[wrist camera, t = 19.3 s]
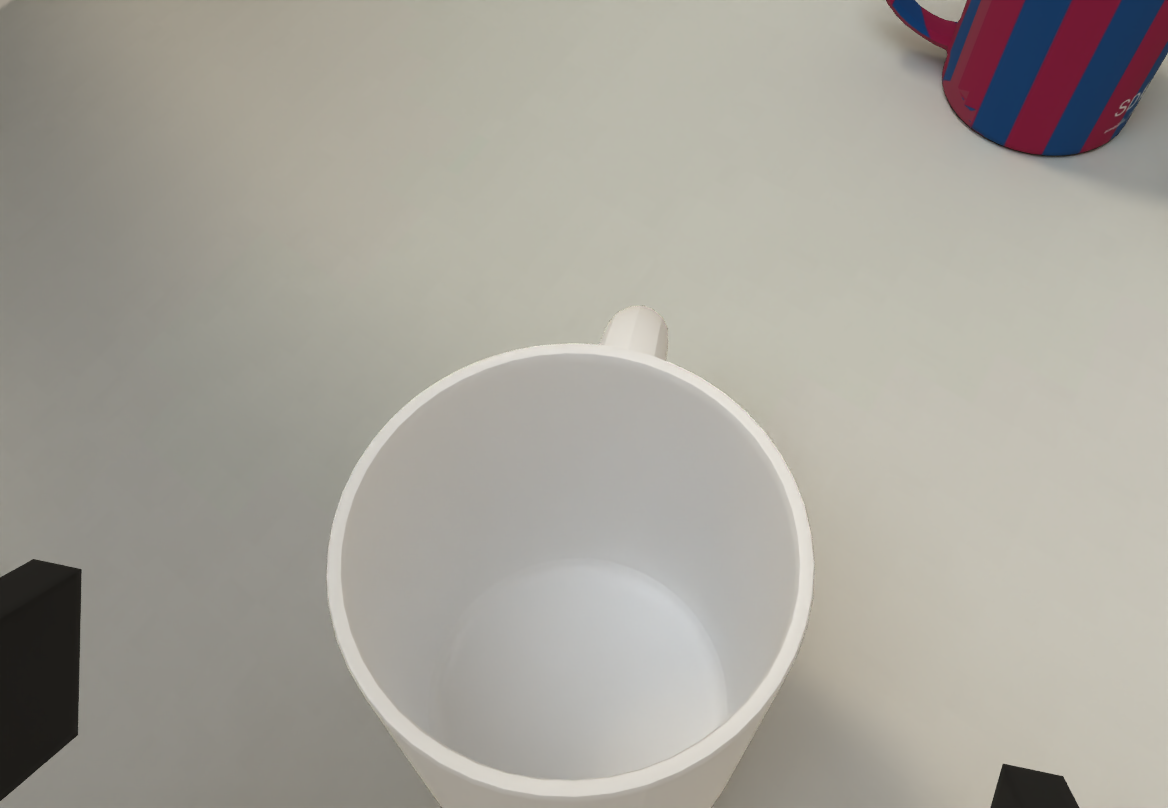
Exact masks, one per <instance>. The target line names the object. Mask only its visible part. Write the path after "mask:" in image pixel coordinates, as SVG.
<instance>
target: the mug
mask: <svg viewBox="0 0 1168 808" xmlns="http://www.w3.org/2000/svg"><path fill="white" fill-rule="evenodd" d="M667 349H668V328H667V326H666V324H665V321H664V319H663V317H661V316H660V315H659V314H658V313H657V312H656V311H655V310H653V309H651V308H648V307H645V306H630V307H628V308H626V309H623V310H621V311H619V312H617V313H616V315H615V316H614V317H613V318H612V319H611V320H610V321H609V323H608V325H607V326H606V328H605V331H604V333H603V335H602V338H601V341H600V343H599V345H598V344H575V343H563V344H550V345H538V346H533V347H527V348H522V349H517V350H511V351H508V352H504V353H501V354H498V355H495V356H491V357H488V358H485V359H482V360H480V361H477V362H475V363H473V364H471V365H468V366H466V367H464V368H461V369H459V370H457V371H455V372H453V373H452V374H450V375H448V376H446V377H445V378H443V379H441V380H439V381H437V382H436V383H434V384H432V385H431V386H430V387H428V388H427V389H425V390H424V391H423V392H421V393H420V394H419V395H417V396H416V397H415V398H413V399H412V400H410V401H409V402H408V403H407V404H406V405H405V406H404V407H403V408H402V409H401V410H400V411H399V412H397V413H396V414H395V415H394V416H393V417H392V418H391V419H390V420H389V421H388V422H387V423H386V425H385V426H384V427H383V428H382V429H381V431H380V432H379V433H378V434H377V435H376V437H375V438H374V439H373V440H372V441H371V442H370V444H369V446H368V447H367V449H366V450H365V452H364V453H363V455H362V456H361V458H360V459H359V461H358V463H357V464H356V466H355V467H354V469H353V472H352V474H351V476H350V478H349V480H348V482H347V484H346V486H345V488H344V490H343V492H342V495H341V498H340V501H339V504H338V507H337V510H336V513H335V516H334V519H333V523H332V528H331V534H330V539H329V545H328V551H327V572H326V585H327V595H328V605H329V613H330V617H331V621H332V625H333V629H334V633H335V637H336V641H337V644H338V646H339V648H340V651H341V653H342V656H343V658H344V661H345V663H346V665H347V668H348V670H349V672H350V674H351V675H352V677H353V679H354V680H355V682H356V684H357V686H358V687H359V689H360V691H361V692H362V694H363V696H364V697H365V699H366V700H367V702H368V703H369V705H370V706H371V708H372V709H373V710H374V712H375V713H376V715H377V716H378V718H379V719H380V720H381V722H382V723H383V725H384V726H385V728H386V729H387V730H388V732H389V733H390V735H391V736H392V738H393V739H394V740H395V742H396V743H397V745H398V746H399V748H400V749H401V750H402V752H403V753H404V755H405V756H406V758H407V759H408V760H409V762H410V763H411V765H412V766H413V768H414V769H415V770H416V772H417V773H418V775H419V776H420V778H421V779H422V780H423V782H424V783H425V785H426V786H427V788H428V789H429V790H430V792H431V793H432V795H433V796H434V798H435V799H436V800H437V801H438V803H439V804H440V805H441V806H442V808H711V807H712V805H713V804H714V803H715V801H716V800H717V799H718V797H719V796H720V794H721V793H722V792H723V790H724V788H725V786H726V785H727V783H728V781H729V779H730V777H731V776H732V774H733V772H734V770H735V768H736V767H737V765H738V763H739V761H740V759H741V758H742V756H743V754H744V752H745V751H746V749H747V747H748V745H749V743H750V742H751V740H752V738H753V736H754V734H755V733H756V731H757V729H758V727H759V725H760V724H761V722H762V720H763V718H764V716H765V715H766V713H767V711H768V709H769V707H770V706H771V704H772V702H773V700H774V698H775V697H776V695H777V693H778V691H779V689H780V688H781V686H782V684H783V682H784V680H785V678H786V676H787V674H788V673H789V671H790V669H791V667H792V665H793V663H794V661H795V659H796V657H797V655H798V652H799V649H800V646H801V643H802V641H803V638H804V635H805V632H806V630H807V626H808V621H809V616H810V611H811V606H812V601H813V593H814V575H815V563H814V551H813V539H812V534H811V529H810V525H809V520H808V516H807V512H806V508H805V505H804V503H803V500H802V497H801V495H800V492H799V489H798V486H797V484H796V481H795V479H794V478H793V476H792V474H791V472H790V470H789V468H788V466H787V465H786V463H785V461H784V459H783V457H782V455H781V454H780V452H779V451H778V450H777V448H776V447H775V445H774V444H773V443H772V441H771V440H770V438H769V437H768V436H767V434H766V433H765V431H764V430H763V429H762V428H761V427H760V426H759V425H758V424H757V423H756V422H755V421H754V419H753V418H752V417H751V416H750V415H749V414H748V413H747V412H746V411H745V410H744V409H743V408H742V407H740V406H739V405H738V404H737V403H736V402H735V401H733V400H732V399H731V398H730V397H729V396H727V395H726V394H725V393H724V392H722V391H721V390H719V389H718V388H716V387H715V386H713V385H712V384H710V383H709V382H707V381H706V380H704V379H703V378H701V377H699V376H697V375H695V374H693V373H691V372H689V371H687V370H686V369H684V368H682V367H680V366H678V365H676V364H673V363H670V362H668V361H666V358H667Z"/></svg>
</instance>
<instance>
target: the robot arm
mask: <svg viewBox="0 0 1168 808" xmlns="http://www.w3.org/2000/svg"><path fill="white" fill-rule="evenodd" d="M80 613H81V569H78V568H73V567H68V566H64V565H59V564H54V563H49V562H45V561H40V560H35V559H33V560H31V561H29V562H27V563H26V564H24V565H22V566H20V567H18V568H17V569H15V570H13V571H11V572H9V573H8V574H6V575H4V576H2V577H0V801H1V800H2V799H3V798H5V797H6V796H7V795H8V794H9V793H10V792H12V791H13V790H14V789H15V788H16V787H18V786H19V785H20V784H21V783H22V782H23V781H25V780H26V779H27V778H28V777H29V776H30V775H32V774H33V773H34V772H35V771H36V770H37V769H39V768H40V767H41V766H42V765H43V764H44V763H46V762H47V761H48V760H49V759H50V758H51V757H53V756H54V755H55V754H56V753H57V752H58V751H60V750H61V749H62V748H63V747H64V746H65V745H67V744H68V743H69V742H70V741H71V740H72V739H74V738H75V737H76V736H77V735H78V702H79V658H80ZM991 808H1079V806H1078V804H1077V802H1076V800H1075V798H1074V797H1073V795H1072V793H1071V791H1070V789H1069V787H1068V785H1067V783H1066V781H1065V779H1064V777H1063V776H1059V775H1054V774H1049V773H1045V772H1040V771H1035V770H1030V769H1026V768H1021V767H1016V766H1011V765H1007V764H1003V765H1002V769H1001V772H1000V776H999V779H998V783H997V787H996V790H995V794H994V797H993V801H992V804H991Z"/></svg>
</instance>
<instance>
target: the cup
mask: <svg viewBox="0 0 1168 808" xmlns="http://www.w3.org/2000/svg"><path fill="white" fill-rule="evenodd" d="M886 1H887V3H888V5H889V6H890V8H891V9H892V10H893V12H894V13H895V14H896V16H897V17H898V18H899V19H900V20H901V21H902V22H903V23H904V24H905V25H907V26H908V27H909V28H910V29H912V30H913V31H914V32H916V33H917V34H918V35H920V36H922V37H923V38H925V39H926V40H928V41H930V42H931V43H933V44H934V45H937V46H939V47H941V48H943V49H945V50H947V58H946V61H945V64H944V68H943V72H942V84H943V88H944V92H945V95H946V97H947V99H948V101H949V103H950V105H951V107H952V108H953V109H954V111H955V112H956V113H957V115H958V116H959V117H960V118H961V119H962V120H963V121H964V122H965V123H966V124H967V125H968V126H969V127H971V128H972V129H973V130H975V131H976V132H978V133H979V134H981V135H982V136H984V137H986V138H988V139H990V140H991V141H993V142H995V143H997V144H1000V145H1003V146H1005V147H1008V148H1011V149H1013V150H1017V151H1022V152H1026V153H1030V154H1038V155H1047V156H1058V155H1070V154H1077V153H1082V152H1085V151H1088V150H1092V149H1095V148H1097V147H1099V146H1101V145H1103V144H1105V143H1107V142H1109V141H1110V140H1111V139H1113V138H1114V137H1115V136H1116V135H1118V133H1119V132H1120V131H1121V130H1122V128H1123V127H1124V126H1125V124H1126V122H1127V121H1128V119H1129V117H1130V116H1131V114H1132V112H1133V111H1134V109H1135V107H1136V106H1137V104H1138V102H1139V101H1140V99H1141V97H1142V95H1143V94H1144V92H1145V90H1146V89H1147V87H1148V85H1149V84H1150V82H1151V80H1152V79H1153V77H1154V75H1155V74H1156V72H1157V70H1158V68H1159V67H1160V65H1161V63H1162V62H1163V60H1164V58H1165V57H1166V55H1167V53H1168V0H967V2H966V5H965V7H964V10H963V13H962V16H961V18H960V20H959V21H958V22H953V21H948V20H944V19H942V18H939V17H937V16H935V15H933V14H932V13H930V12H928V11H927V10H925V9H924V8H922V7H921V6H920V5H919V4H918V3H917V2H916V1H915V0H886Z"/></svg>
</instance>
